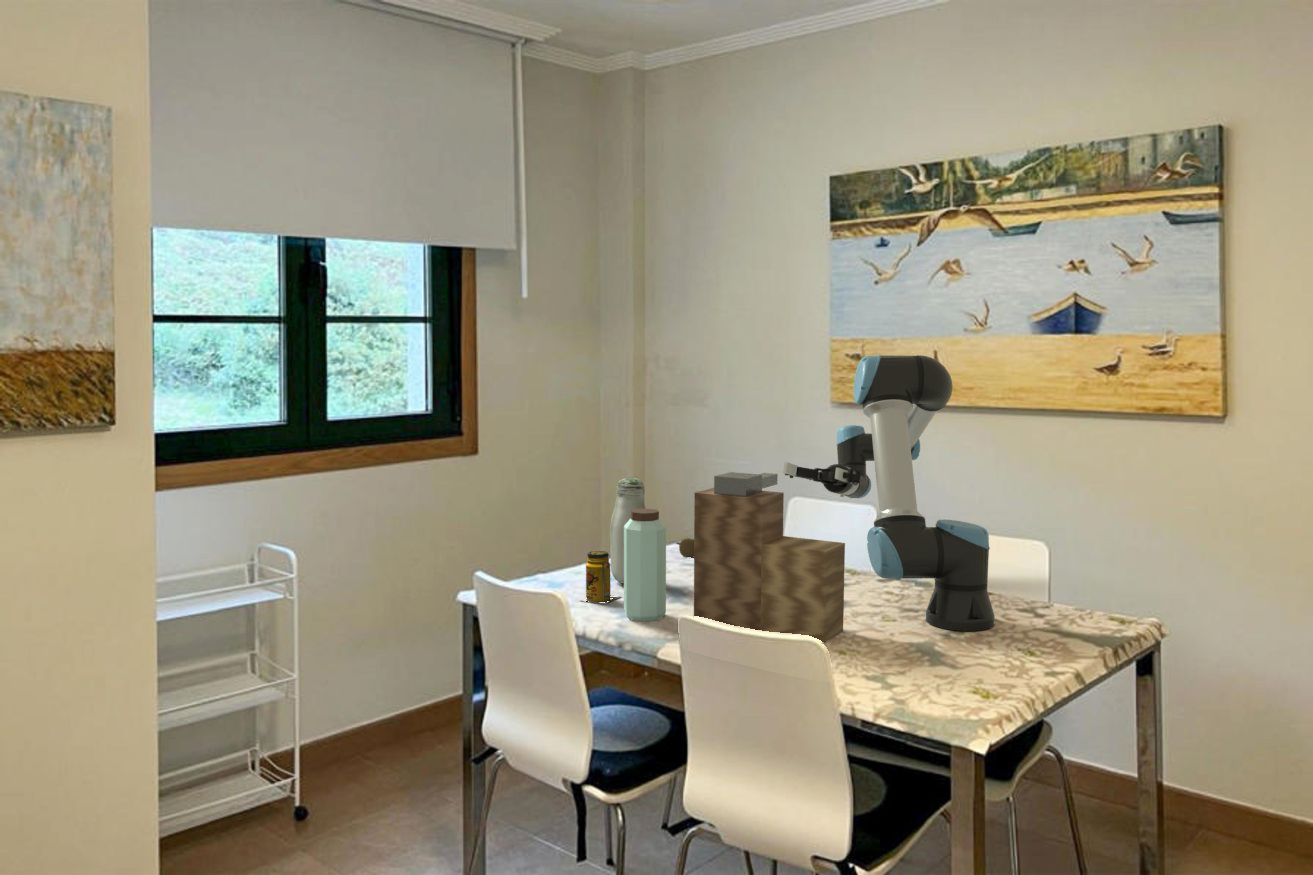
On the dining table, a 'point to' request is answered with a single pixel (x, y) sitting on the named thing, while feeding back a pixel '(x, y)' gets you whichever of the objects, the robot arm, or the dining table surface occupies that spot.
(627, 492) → the glass bottle
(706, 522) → the stepped stand
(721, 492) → the grey t-shaped block
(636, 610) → the water bottle
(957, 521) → the robot arm
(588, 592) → the condiment
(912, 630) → the dining table surface
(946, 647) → the dining table surface
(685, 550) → the kendama
